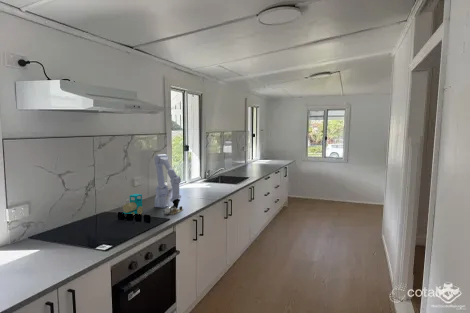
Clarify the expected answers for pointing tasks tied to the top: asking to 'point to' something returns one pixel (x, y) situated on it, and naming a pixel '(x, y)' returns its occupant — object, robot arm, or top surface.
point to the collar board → (176, 210)
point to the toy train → (133, 205)
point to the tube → (169, 209)
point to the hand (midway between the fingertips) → (176, 208)
